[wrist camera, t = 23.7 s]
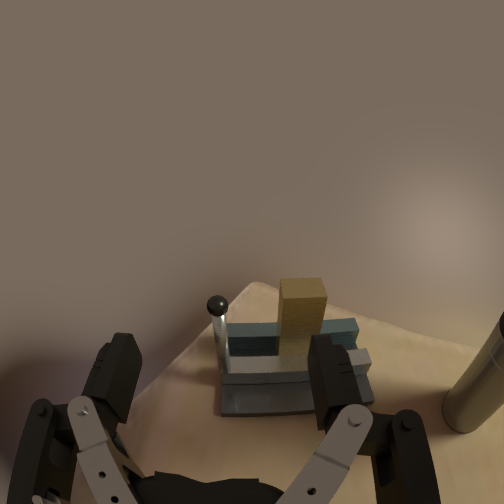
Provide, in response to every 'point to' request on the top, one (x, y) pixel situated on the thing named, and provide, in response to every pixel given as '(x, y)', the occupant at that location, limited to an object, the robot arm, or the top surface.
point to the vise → (280, 394)
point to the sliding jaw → (265, 357)
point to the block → (299, 314)
